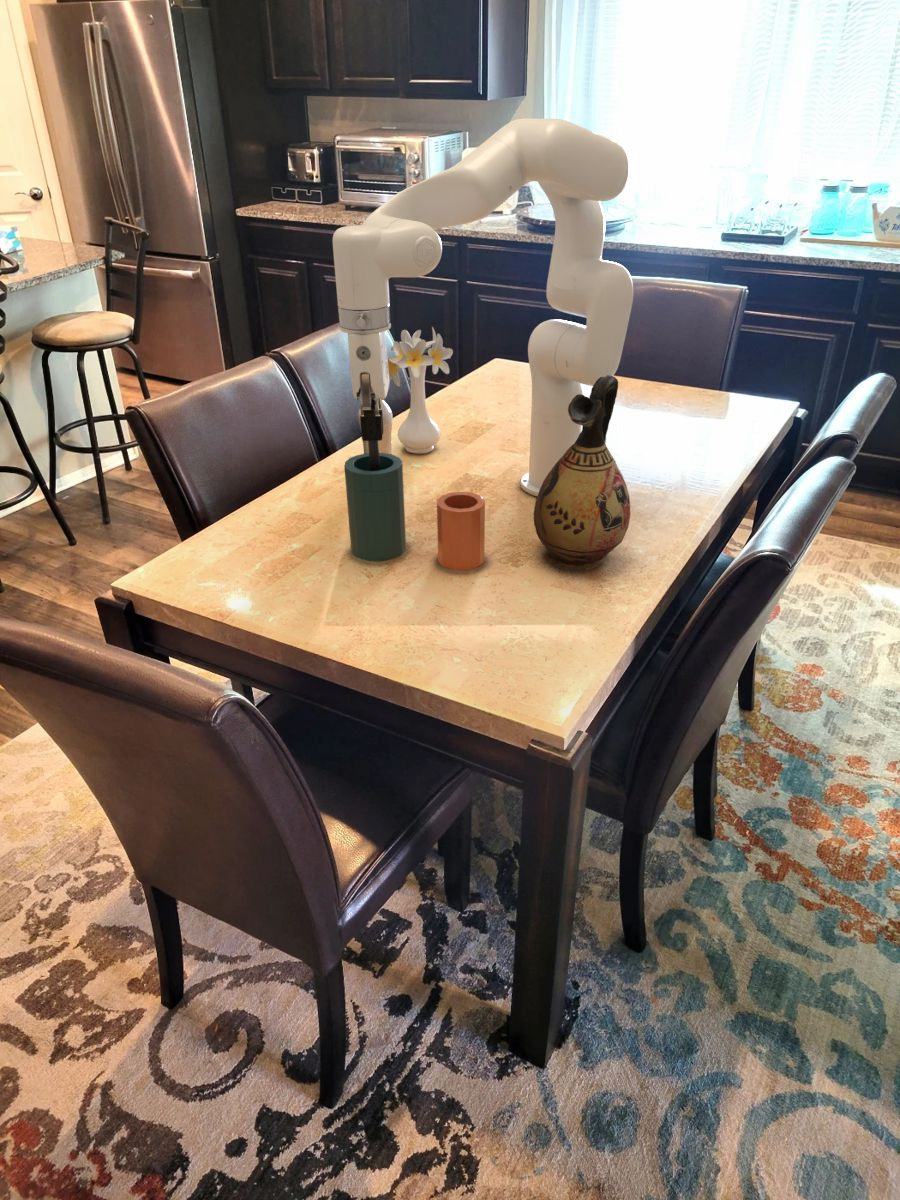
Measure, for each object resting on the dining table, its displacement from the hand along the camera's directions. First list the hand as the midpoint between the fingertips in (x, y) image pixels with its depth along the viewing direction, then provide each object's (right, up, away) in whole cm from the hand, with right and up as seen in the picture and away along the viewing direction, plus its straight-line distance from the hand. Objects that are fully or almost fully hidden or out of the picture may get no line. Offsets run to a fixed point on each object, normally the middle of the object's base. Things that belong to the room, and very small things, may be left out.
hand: (372, 436), depth 134 cm
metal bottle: (-2, -4, +34) cm, 34 cm away
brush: (0, -15, +9) cm, 17 cm away
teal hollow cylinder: (0, -18, +10) cm, 20 cm away
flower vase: (+6, +7, +51) cm, 51 cm away
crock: (+14, -20, +7) cm, 25 cm away
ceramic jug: (+34, -19, +8) cm, 40 cm away
